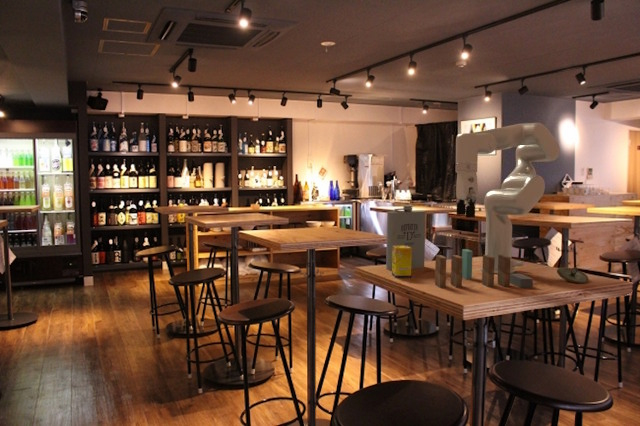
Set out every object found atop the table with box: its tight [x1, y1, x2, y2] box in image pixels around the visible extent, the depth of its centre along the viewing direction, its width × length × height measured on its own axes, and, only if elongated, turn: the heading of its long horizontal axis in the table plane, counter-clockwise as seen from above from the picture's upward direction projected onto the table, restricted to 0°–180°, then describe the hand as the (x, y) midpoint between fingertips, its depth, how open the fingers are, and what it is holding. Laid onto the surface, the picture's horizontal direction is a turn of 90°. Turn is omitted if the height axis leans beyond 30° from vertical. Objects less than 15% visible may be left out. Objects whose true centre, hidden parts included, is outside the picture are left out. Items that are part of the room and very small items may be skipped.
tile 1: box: [434, 254, 447, 289], centre depth 176 cm, size 2×5×10 cm, turn 5°
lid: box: [556, 266, 590, 284], centre depth 187 cm, size 11×10×5 cm
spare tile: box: [461, 248, 474, 280], centre depth 190 cm, size 2×5×10 cm, turn 5°
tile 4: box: [481, 254, 495, 288], centre depth 178 cm, size 2×5×10 cm, turn 5°
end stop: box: [510, 273, 534, 289], centre depth 179 cm, size 4×9×3 cm, turn 5°
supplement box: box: [391, 246, 412, 279], centre depth 192 cm, size 6×6×11 cm
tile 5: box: [496, 255, 512, 288], centre depth 178 cm, size 2×5×10 cm, turn 5°
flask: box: [385, 204, 427, 271], centre depth 208 cm, size 17×5×25 cm, turn 117°
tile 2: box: [450, 254, 463, 288], centre depth 177 cm, size 2×5×10 cm, turn 5°
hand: (465, 216), depth 190 cm, fingers open, 9 cm apart
